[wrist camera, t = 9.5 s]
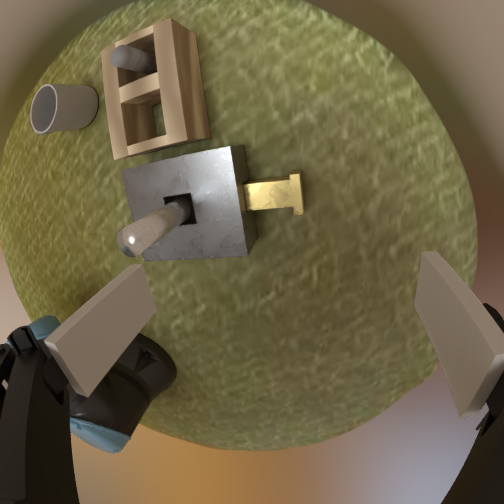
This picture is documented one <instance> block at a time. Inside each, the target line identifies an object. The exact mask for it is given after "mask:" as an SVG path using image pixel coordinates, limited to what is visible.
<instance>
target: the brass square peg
mask: <svg viewBox="0 0 504 504" xmlns="http://www.w3.org/2000/svg"><path fill="white" fill-rule="evenodd" d="M242 187H243V193H244V199H245V206H246V211H248V210H259V209H271V208H283V207H293V209H294V215H304V207H305V203H304V193H303V184H302V175H301V170H292V172H291V173H290V176H287V177H276V178H267V179H258V180H249V181H245V182H244V183H242Z"/></svg>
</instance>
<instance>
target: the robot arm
mask: <svg viewBox="0 0 504 504" xmlns="http://www.w3.org/2000/svg"><path fill="white" fill-rule="evenodd" d="M414 307H415V309H416V311H417V313H418V315H419V317H420V319H421V321H422V324H423V326H424V328H425V330H426V332H427V334H428V337H429V339H430V341H431V343H432V346H433V348H434V350H435V353H436V355H437V357H438V360H439V362H440V364H441V367H442V370H443V372H444V375H445V377H446V379H447V383H448V385H449V388H450V391H451V394H452V396H453V399H454V402H455V405H456V408H457V411H458V414H459V418H460V419H462V418H465V417H469V416H472V415H475V414H478V413H479V412H480V410H481V409H482V407H483V406H484V404H485V403H487V405H488V408H489V411H488V413H487V414H486V415H485V417H484V418H483V419H482V421H481V422H480V424H479V425H478V426H477V428H476V430H479V428H480V427H481V428H480V431H479V433H478V435H477V438H476V440H475V443H474V445H473V447H472V449H471V451H470V453H469V455H468V457H467V459H466V461H465V463H464V466H463V467H462V469H461V471H460V473H459V475H458V476H457V478H456V480H455V482H454V483H453V485H452V487H451V488H450V490H449V492H448V493H447V495H446V496H445V498H444V500H443V501H442V503H441V504H504V320H503V318H502V317H501V315H500V314H499V313H498V311H497V310H496V309H494V308H493V307H491V306H490V305H488V304H487V303H484V304H482V303H481V302H480V301H479V299H478V298H477V297H476V296H475V295H474V293H473V292H472V291H471V290H470V288H469V287H468V286H467V285H466V284H465V282H464V281H463V280H462V279H461V278H460V277H459V275H458V274H457V273H456V272H455V271H454V270H453V269H452V267H451V266H450V265H449V264H448V263H447V262H446V261H445V260H444V259H443V258H442V257H441V255H440V254H439V253H438V252H437V251H425V252H421V261H420V269H419V277H418V284H417V290H416V297H415V302H414ZM156 311H157V308H156V306H155V303H154V300H153V296H152V293H151V290H150V287H149V284H148V281H147V277H146V274H145V271H144V267H143V264H138V265H130V266H129V267H128V268H126V269H125V270H124V271H123V272H122V273H120V274H119V275H118V276H117V277H115V278H114V279H113V280H112V281H111V282H109V283H108V284H107V285H106V286H105V287H103V288H102V289H101V290H100V291H99V292H97V293H96V294H95V295H94V296H93V297H92V298H90V299H89V300H88V301H87V302H86V303H85V304H84V305H82V306H81V307H80V308H79V309H78V310H77V311H76V312H74V313H73V314H72V315H71V316H70V317H69V318H68V319H67V320H66V321H64V322H63V323H62V324H61V323H60V322H59V320H58V319H57V318H56V317H54V316H52V315H47V316H44V317H42V318H40V319H38V320H36V321H34V322H33V323H31V324H29V325H28V326H22V327H19V328H17V329H16V330H14V331H13V332H12V333H11V334H10V335H9V336H8V338H7V339H8V341H7V342H6V343H5V344H1V345H0V504H80V503H79V498H78V493H77V487H76V481H75V474H74V467H73V458H72V448H71V434H70V432H71V433H73V434H74V435H76V436H77V437H79V438H80V439H82V440H83V441H85V442H86V443H89V444H90V445H92V446H94V447H96V448H98V449H100V450H103V451H105V452H109V453H118V452H120V451H121V450H122V449H123V448H124V446H125V445H126V443H127V442H128V441H129V440H130V439H131V436H132V434H133V432H134V430H135V429H136V427H137V425H138V424H139V422H140V420H141V418H142V417H143V415H144V413H145V411H146V410H147V408H148V406H149V405H150V403H151V401H152V400H153V399H155V398H156V397H157V396H158V395H159V394H160V393H161V392H163V391H164V390H166V389H168V388H169V387H170V386H171V384H172V382H173V381H174V379H175V377H176V369H175V366H174V363H173V362H172V360H171V358H170V357H169V356H168V354H167V353H166V352H165V351H164V350H163V349H162V348H161V347H160V346H158V345H157V344H156V343H155V342H153V341H152V340H150V339H148V338H147V337H145V336H142V335H140V334H138V333H139V332H140V331H141V329H142V328H143V327H144V326H145V324H146V323H147V322H148V321H149V320H150V318H151V317H152V316H153V315H154V314H155V312H156Z"/></svg>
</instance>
